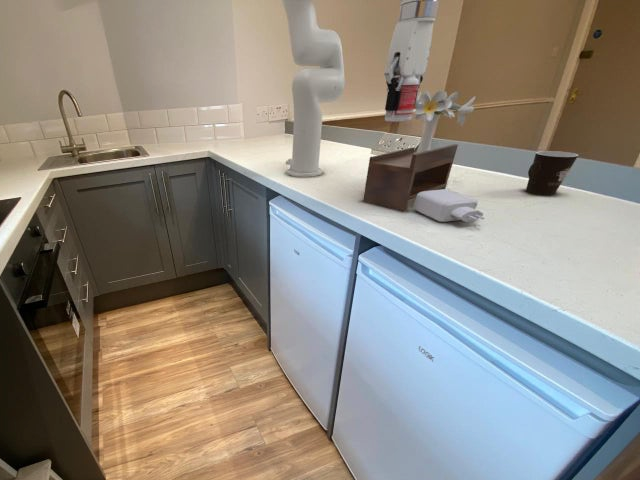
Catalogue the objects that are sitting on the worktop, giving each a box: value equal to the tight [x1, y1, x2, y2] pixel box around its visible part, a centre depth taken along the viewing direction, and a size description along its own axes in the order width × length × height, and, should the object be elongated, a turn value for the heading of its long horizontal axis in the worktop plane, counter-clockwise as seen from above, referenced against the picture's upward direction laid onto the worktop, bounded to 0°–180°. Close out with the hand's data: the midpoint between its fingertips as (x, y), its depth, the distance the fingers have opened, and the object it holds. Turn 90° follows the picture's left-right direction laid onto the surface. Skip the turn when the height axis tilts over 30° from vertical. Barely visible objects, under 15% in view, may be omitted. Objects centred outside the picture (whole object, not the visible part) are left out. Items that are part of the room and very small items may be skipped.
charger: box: [413, 188, 485, 223], centre depth 78 cm, size 5×9×15 cm
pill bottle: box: [384, 67, 419, 123], centre depth 82 cm, size 6×6×11 cm
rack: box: [362, 143, 459, 212], centre depth 90 cm, size 12×20×13 cm, turn 127°
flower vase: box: [413, 90, 476, 153], centre depth 101 cm, size 13×18×25 cm
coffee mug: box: [525, 150, 579, 197], centre depth 91 cm, size 12×9×10 cm
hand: (399, 108), depth 83 cm, fingers closed on pill bottle, 6 cm apart
